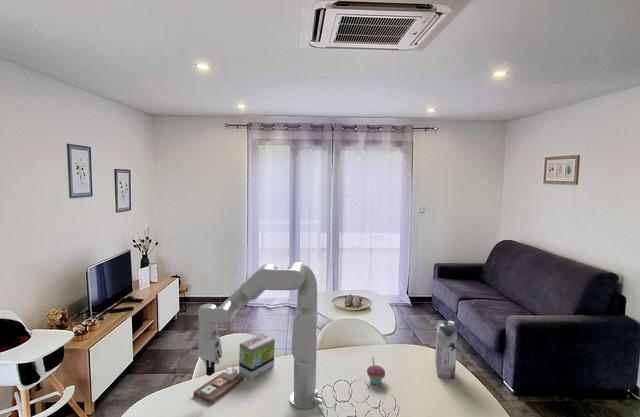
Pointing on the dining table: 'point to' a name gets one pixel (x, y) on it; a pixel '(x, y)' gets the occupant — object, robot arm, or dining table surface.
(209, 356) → the robot arm
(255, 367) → the tea box
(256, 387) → the dining table surface
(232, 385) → the tile board
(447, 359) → the juice carton
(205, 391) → the pale grey square block
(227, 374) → the two-pip tile
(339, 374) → the dining table surface
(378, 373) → the cupcake
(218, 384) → the pink three-dot die face
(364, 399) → the dining table surface
